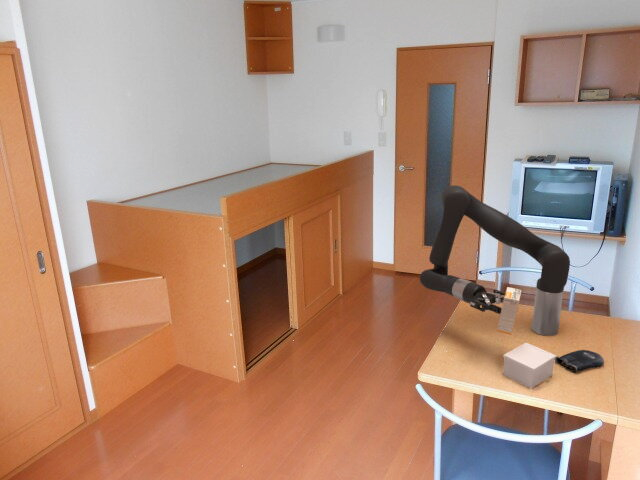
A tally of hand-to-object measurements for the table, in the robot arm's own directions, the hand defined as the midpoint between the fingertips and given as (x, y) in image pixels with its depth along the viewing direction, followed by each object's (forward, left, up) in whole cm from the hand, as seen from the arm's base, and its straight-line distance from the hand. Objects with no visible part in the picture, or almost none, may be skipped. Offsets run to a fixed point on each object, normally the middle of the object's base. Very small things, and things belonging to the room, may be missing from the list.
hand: (508, 307), depth 163 cm
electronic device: (-18, +17, -20) cm, 32 cm away
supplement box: (0, 0, -7) cm, 7 cm away
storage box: (+2, +10, -20) cm, 22 cm away
